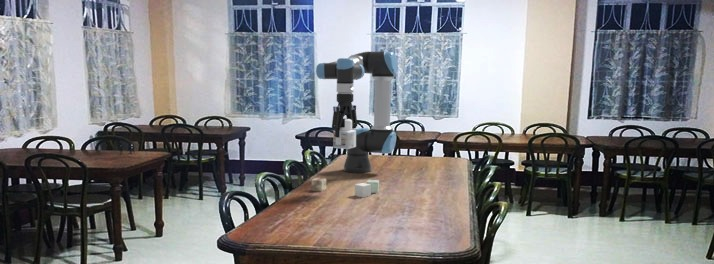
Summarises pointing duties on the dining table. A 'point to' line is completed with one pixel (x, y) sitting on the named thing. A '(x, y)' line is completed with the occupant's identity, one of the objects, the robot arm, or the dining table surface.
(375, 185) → the sage cube
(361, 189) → the cream cube
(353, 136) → the container
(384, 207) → the dining table surface
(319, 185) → the beech cube
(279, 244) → the dining table surface
